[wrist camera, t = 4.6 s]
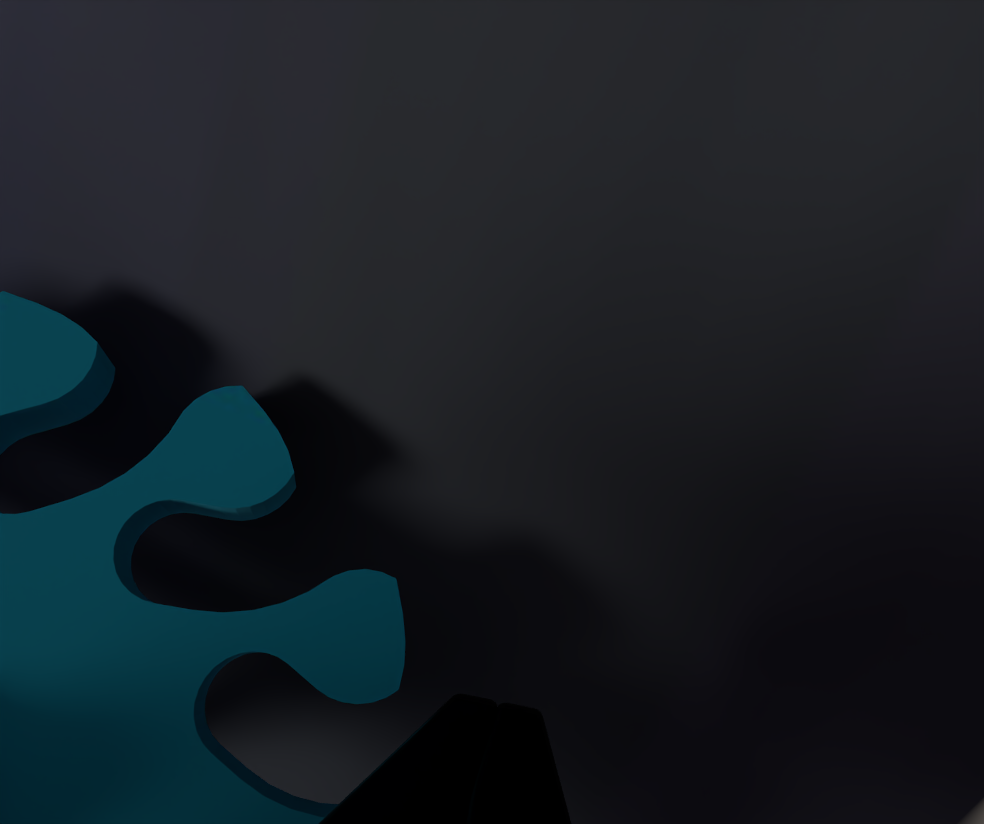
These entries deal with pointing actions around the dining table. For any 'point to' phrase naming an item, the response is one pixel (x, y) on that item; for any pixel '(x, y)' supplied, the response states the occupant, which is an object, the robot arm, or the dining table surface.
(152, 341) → the dining table surface
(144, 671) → the gear
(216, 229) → the dining table surface
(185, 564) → the dining table surface
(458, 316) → the dining table surface
